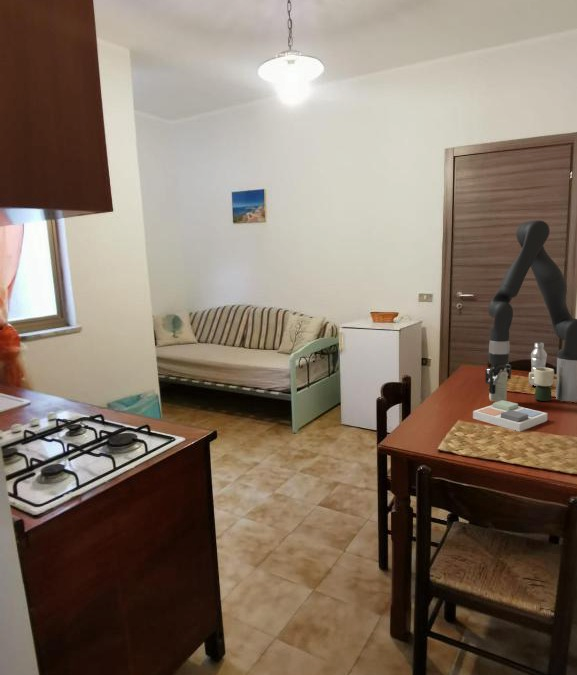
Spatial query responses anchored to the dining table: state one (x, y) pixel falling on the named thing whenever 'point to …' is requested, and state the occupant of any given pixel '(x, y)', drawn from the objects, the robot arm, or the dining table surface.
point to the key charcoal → (514, 416)
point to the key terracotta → (491, 411)
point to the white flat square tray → (508, 423)
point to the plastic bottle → (537, 359)
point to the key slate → (530, 412)
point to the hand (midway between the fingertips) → (497, 391)
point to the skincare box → (500, 388)
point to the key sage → (505, 405)
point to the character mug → (543, 382)
